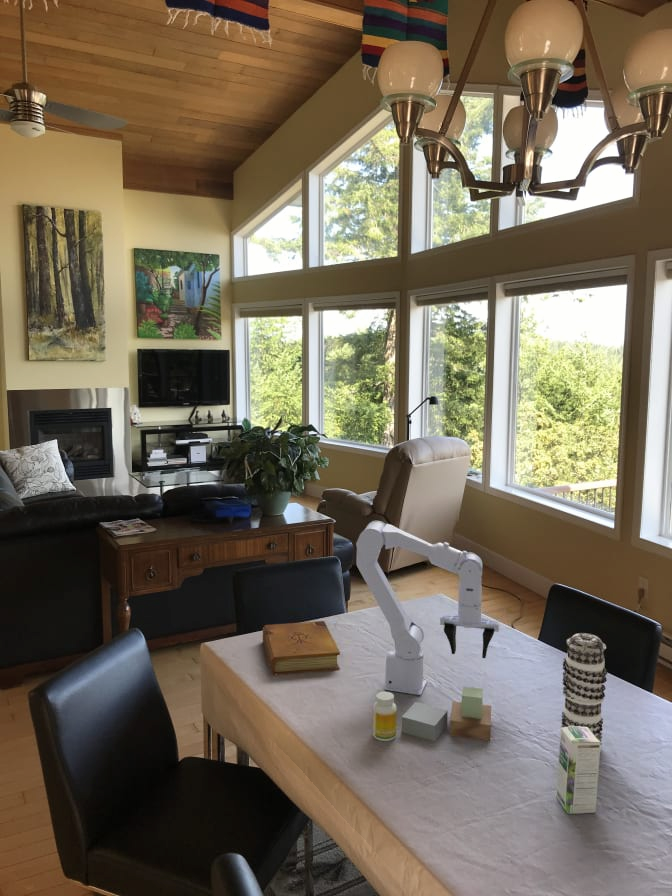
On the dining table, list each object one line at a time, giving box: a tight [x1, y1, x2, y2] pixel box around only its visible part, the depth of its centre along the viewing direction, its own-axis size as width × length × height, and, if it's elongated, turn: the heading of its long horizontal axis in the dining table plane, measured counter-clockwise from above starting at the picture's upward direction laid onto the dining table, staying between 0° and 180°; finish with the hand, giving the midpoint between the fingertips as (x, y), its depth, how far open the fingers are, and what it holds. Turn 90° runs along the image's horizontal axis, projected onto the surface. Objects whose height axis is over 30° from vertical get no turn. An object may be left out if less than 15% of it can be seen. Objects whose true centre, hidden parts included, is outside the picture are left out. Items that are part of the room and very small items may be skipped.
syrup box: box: [556, 726, 602, 815], centre depth 134 cm, size 6×6×14 cm
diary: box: [262, 620, 341, 676], centre depth 201 cm, size 23×19×6 cm
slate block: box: [401, 701, 448, 742], centre depth 162 cm, size 8×8×4 cm
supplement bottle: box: [371, 691, 398, 742], centre depth 158 cm, size 5×5×10 cm
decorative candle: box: [560, 632, 608, 753], centre depth 153 cm, size 9×9×25 cm
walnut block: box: [449, 701, 492, 741], centre depth 162 cm, size 9×9×4 cm
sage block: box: [461, 686, 484, 719], centre depth 162 cm, size 4×4×5 cm
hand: (468, 654), depth 178 cm, fingers open, 7 cm apart
